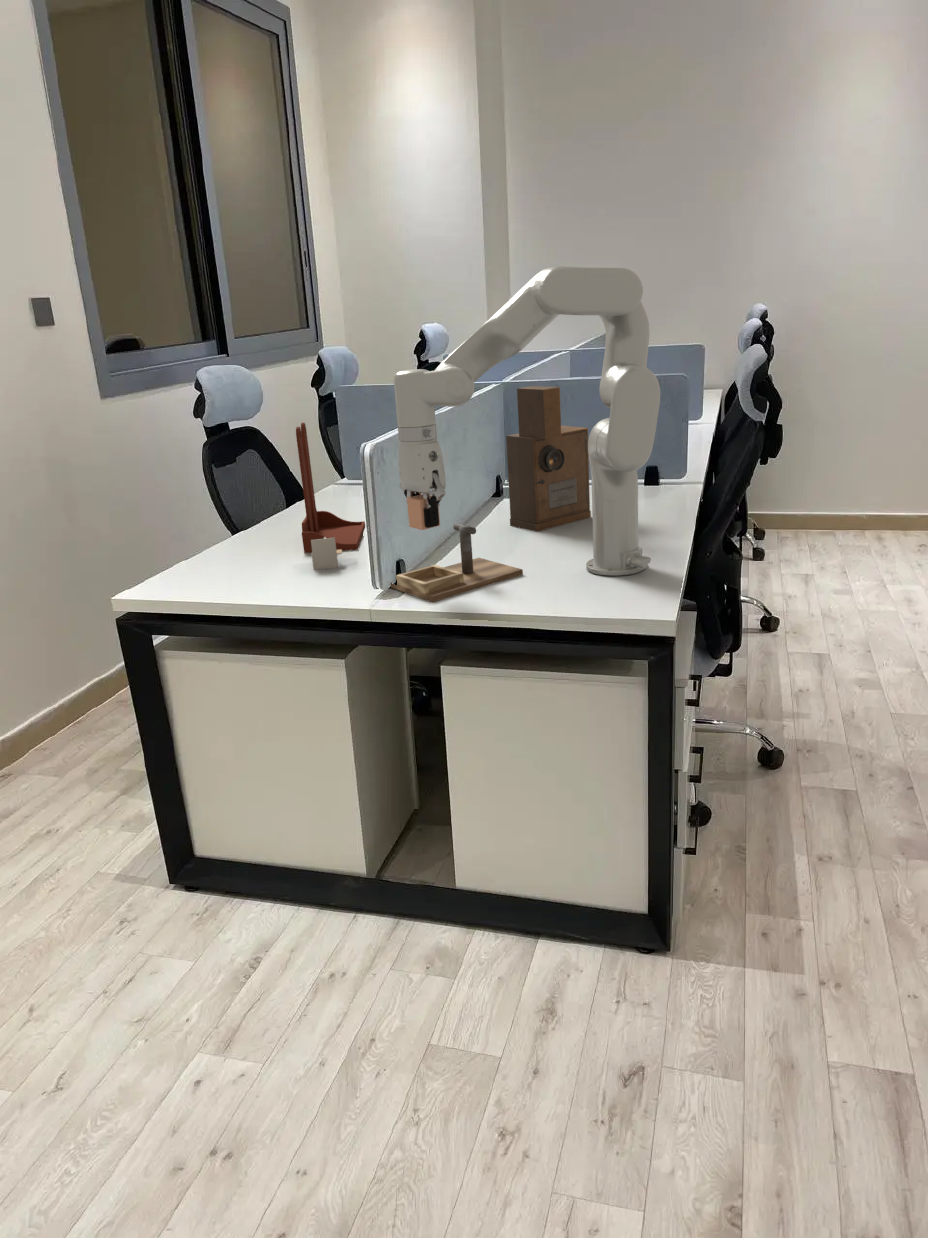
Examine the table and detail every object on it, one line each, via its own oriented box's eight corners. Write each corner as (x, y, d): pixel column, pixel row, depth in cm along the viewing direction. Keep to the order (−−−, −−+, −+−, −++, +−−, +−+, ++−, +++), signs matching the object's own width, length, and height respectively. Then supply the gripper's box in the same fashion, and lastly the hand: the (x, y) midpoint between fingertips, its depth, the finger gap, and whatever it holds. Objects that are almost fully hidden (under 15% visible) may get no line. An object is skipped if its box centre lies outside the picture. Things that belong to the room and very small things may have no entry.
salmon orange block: (440, 525, 189) (437, 496, 187) (422, 529, 187) (419, 500, 185) (427, 522, 193) (424, 493, 191) (409, 526, 190) (406, 497, 188)
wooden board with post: (522, 574, 199) (520, 522, 195) (432, 602, 186) (427, 546, 182) (479, 562, 211) (475, 512, 207) (390, 587, 197) (385, 534, 193)
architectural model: (313, 567, 218) (309, 536, 216) (343, 564, 219) (339, 533, 217) (313, 571, 215) (309, 540, 213) (343, 568, 216) (340, 537, 213)
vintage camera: (546, 534, 231) (540, 389, 220) (510, 525, 242) (502, 387, 230) (601, 519, 242) (598, 381, 230) (564, 512, 252) (559, 379, 241)
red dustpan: (357, 550, 230) (343, 427, 220) (304, 554, 230) (288, 431, 220) (365, 527, 252) (353, 415, 243) (317, 530, 253) (303, 418, 243)
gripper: (458, 434, 179) (464, 527, 185) (408, 428, 192) (415, 515, 198) (427, 440, 175) (434, 534, 181) (378, 433, 188) (386, 522, 194)
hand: (424, 523), depth 190 cm, fingers closed on salmon orange block, 4 cm apart
